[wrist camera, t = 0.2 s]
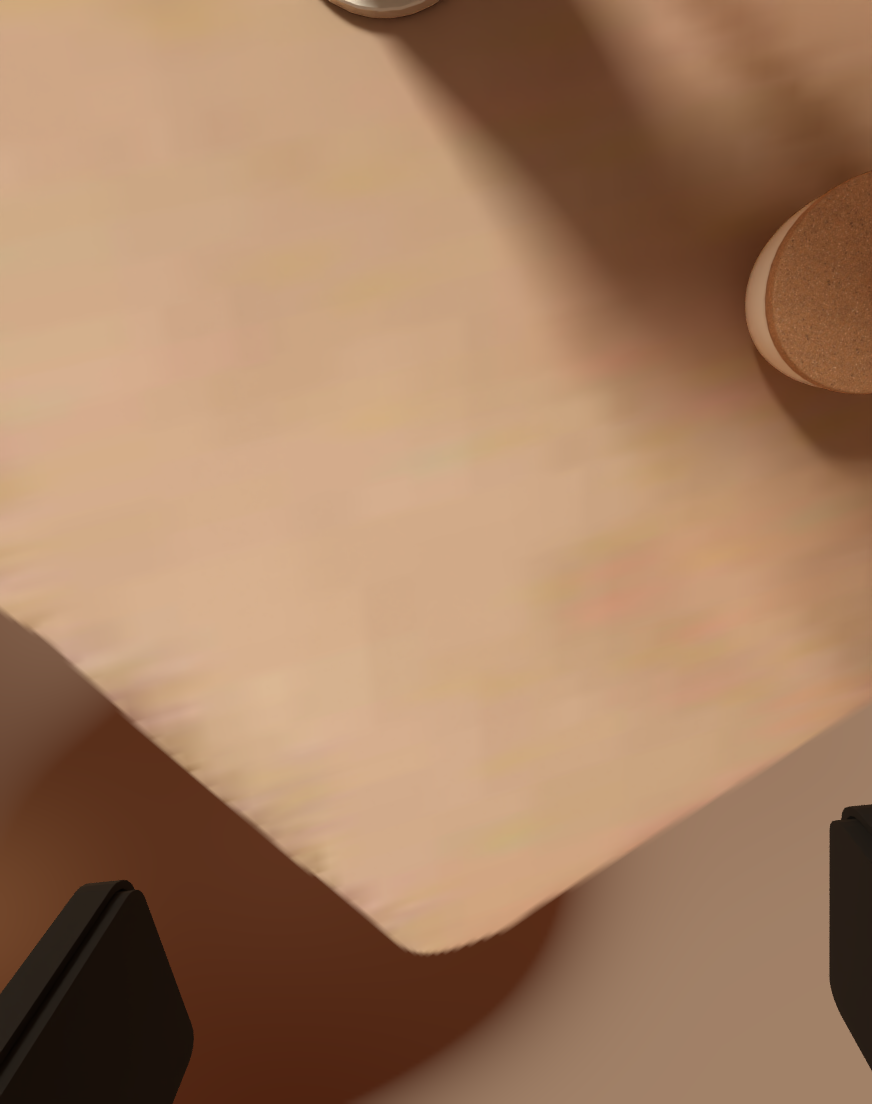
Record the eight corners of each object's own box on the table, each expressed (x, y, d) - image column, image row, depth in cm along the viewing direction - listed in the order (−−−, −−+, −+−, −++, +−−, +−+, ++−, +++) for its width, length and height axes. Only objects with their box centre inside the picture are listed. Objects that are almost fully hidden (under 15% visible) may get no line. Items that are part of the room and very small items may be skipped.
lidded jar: (753, 182, 38) (839, 130, 30) (929, 222, 39) (1067, 183, 30) (694, 366, 42) (755, 370, 33) (856, 403, 42) (961, 417, 33)
